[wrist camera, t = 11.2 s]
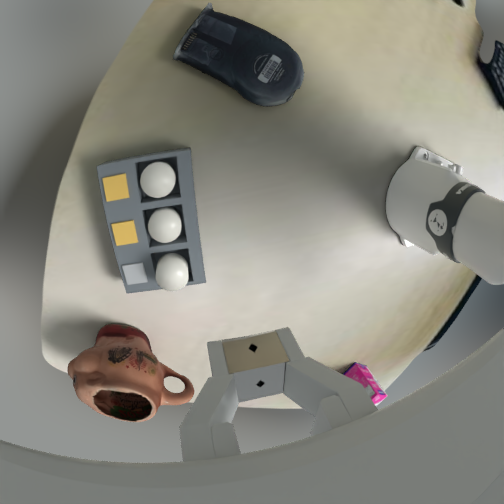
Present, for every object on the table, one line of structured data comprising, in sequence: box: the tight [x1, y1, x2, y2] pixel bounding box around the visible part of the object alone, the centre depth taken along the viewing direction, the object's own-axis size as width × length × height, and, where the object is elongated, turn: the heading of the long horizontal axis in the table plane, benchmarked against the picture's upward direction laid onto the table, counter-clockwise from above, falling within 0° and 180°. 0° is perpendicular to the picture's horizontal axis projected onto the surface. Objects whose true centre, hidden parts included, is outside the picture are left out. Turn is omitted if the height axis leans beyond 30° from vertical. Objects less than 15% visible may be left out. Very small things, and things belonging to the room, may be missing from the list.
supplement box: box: [343, 362, 387, 406], centre depth 56 cm, size 6×6×12 cm
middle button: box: [148, 206, 182, 243], centre depth 32 cm, size 4×4×2 cm
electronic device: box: [173, 3, 304, 106], centre depth 26 cm, size 10×6×15 cm
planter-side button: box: [156, 253, 188, 291], centre depth 32 cm, size 4×4×2 cm
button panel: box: [97, 148, 206, 293], centre depth 32 cm, size 11×17×4 cm, turn 3°
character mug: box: [68, 324, 194, 422], centre depth 35 cm, size 20×12×14 cm, turn 79°
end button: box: [140, 160, 176, 198], centre depth 29 cm, size 4×4×2 cm
